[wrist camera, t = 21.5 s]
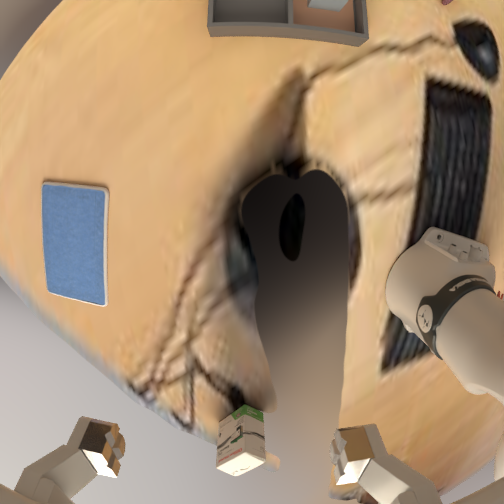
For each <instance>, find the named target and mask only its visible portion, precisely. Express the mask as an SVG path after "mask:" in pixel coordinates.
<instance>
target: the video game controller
mask: <svg viewBox="0 0 504 504" xmlns="http://www.w3.org/2000/svg"><path fill="white" fill-rule="evenodd" d="M451 1H453V0H442V2H441V3H442V4H443V5H447V4H449V3H450V2H451Z"/></svg>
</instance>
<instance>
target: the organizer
mask: <svg viewBox="0 0 504 504" xmlns="http://www.w3.org/2000/svg"><path fill="white" fill-rule="evenodd" d="M207 28H208V31H209V34H210V36H211V37H220V36H261V37H282V38H296V39H307V40H316V41H324V42H332V43H339V44H345V45H351V46H357V47H359V46H360V45H361V44H363V43H364V42H365V41H367V40H368V39H369V34H368V20H367V9H366V0H348V2H347V3H346V4H345V5H344V7H343V8H342V9H341V10H340V12H337V11H330V10H324V9H316V8H308V7H307V0H209V4H208V22H207Z"/></svg>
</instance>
